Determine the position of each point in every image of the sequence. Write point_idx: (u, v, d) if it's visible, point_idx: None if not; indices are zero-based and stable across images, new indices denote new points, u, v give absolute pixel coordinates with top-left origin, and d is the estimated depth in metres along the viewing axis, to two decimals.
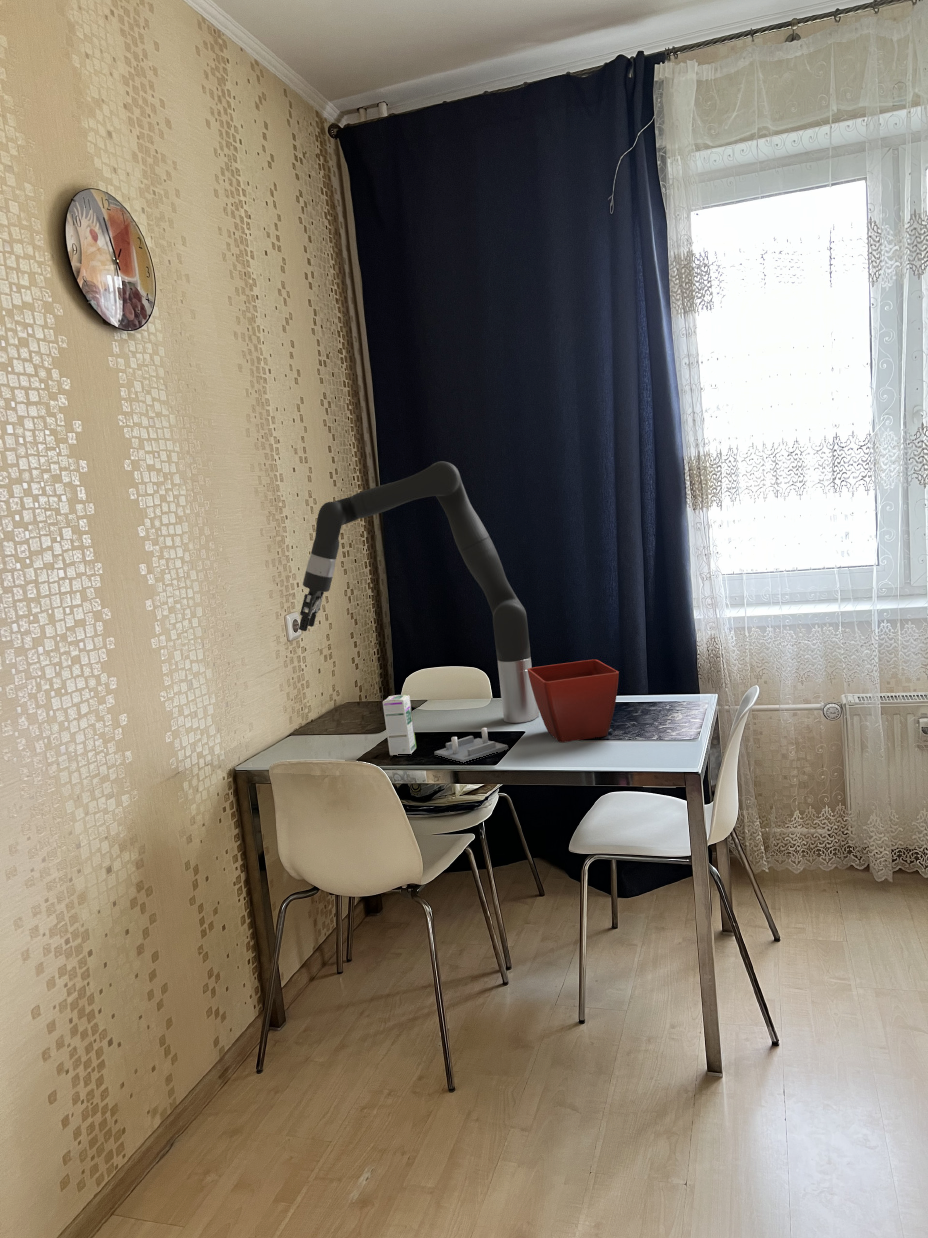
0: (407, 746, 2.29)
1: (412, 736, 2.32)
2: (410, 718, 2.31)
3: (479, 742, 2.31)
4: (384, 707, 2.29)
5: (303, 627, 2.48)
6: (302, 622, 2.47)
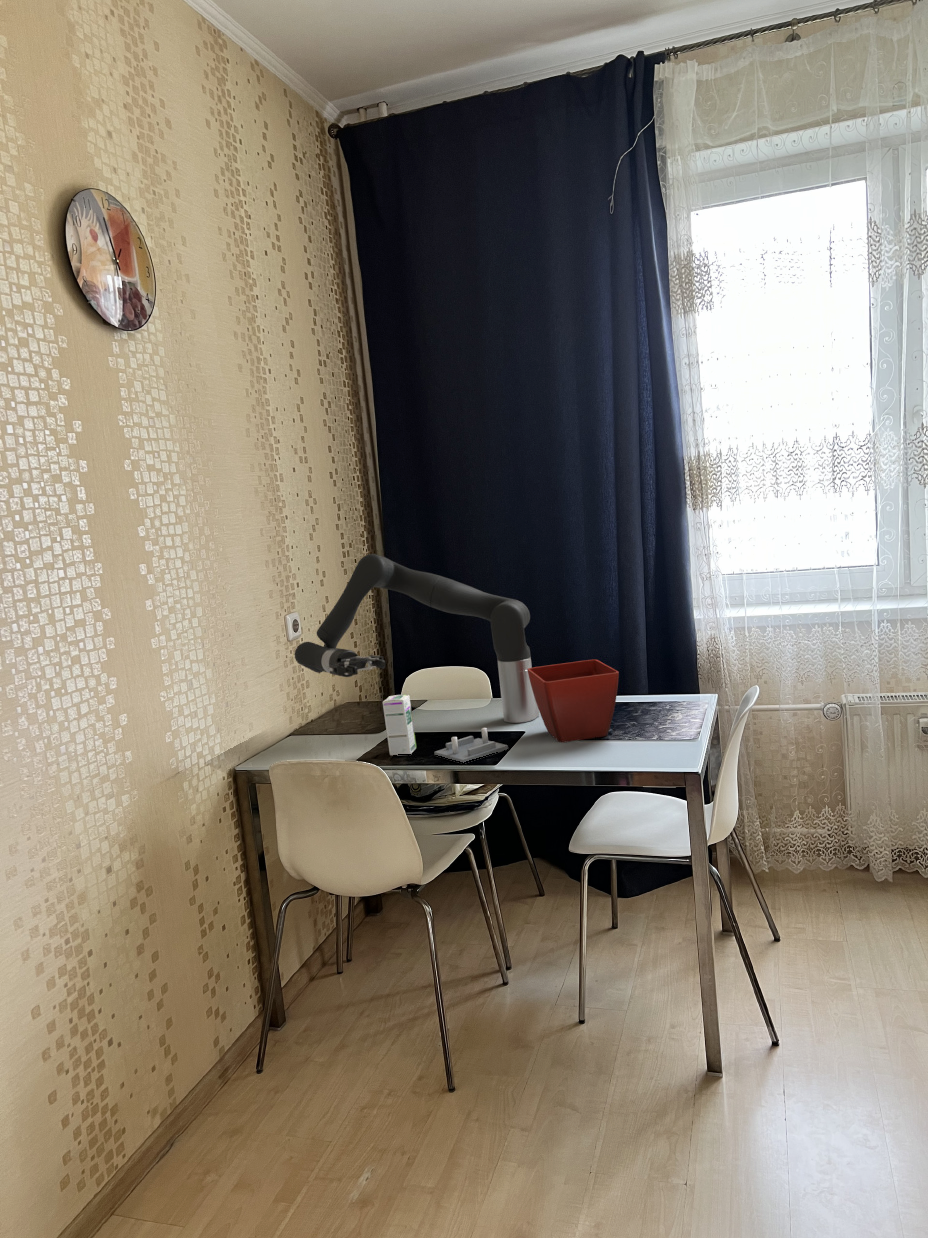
0: (407, 746, 2.29)
1: (412, 736, 2.32)
2: (410, 718, 2.31)
3: (479, 742, 2.31)
4: (384, 707, 2.29)
5: (351, 670, 2.37)
6: (348, 672, 2.38)
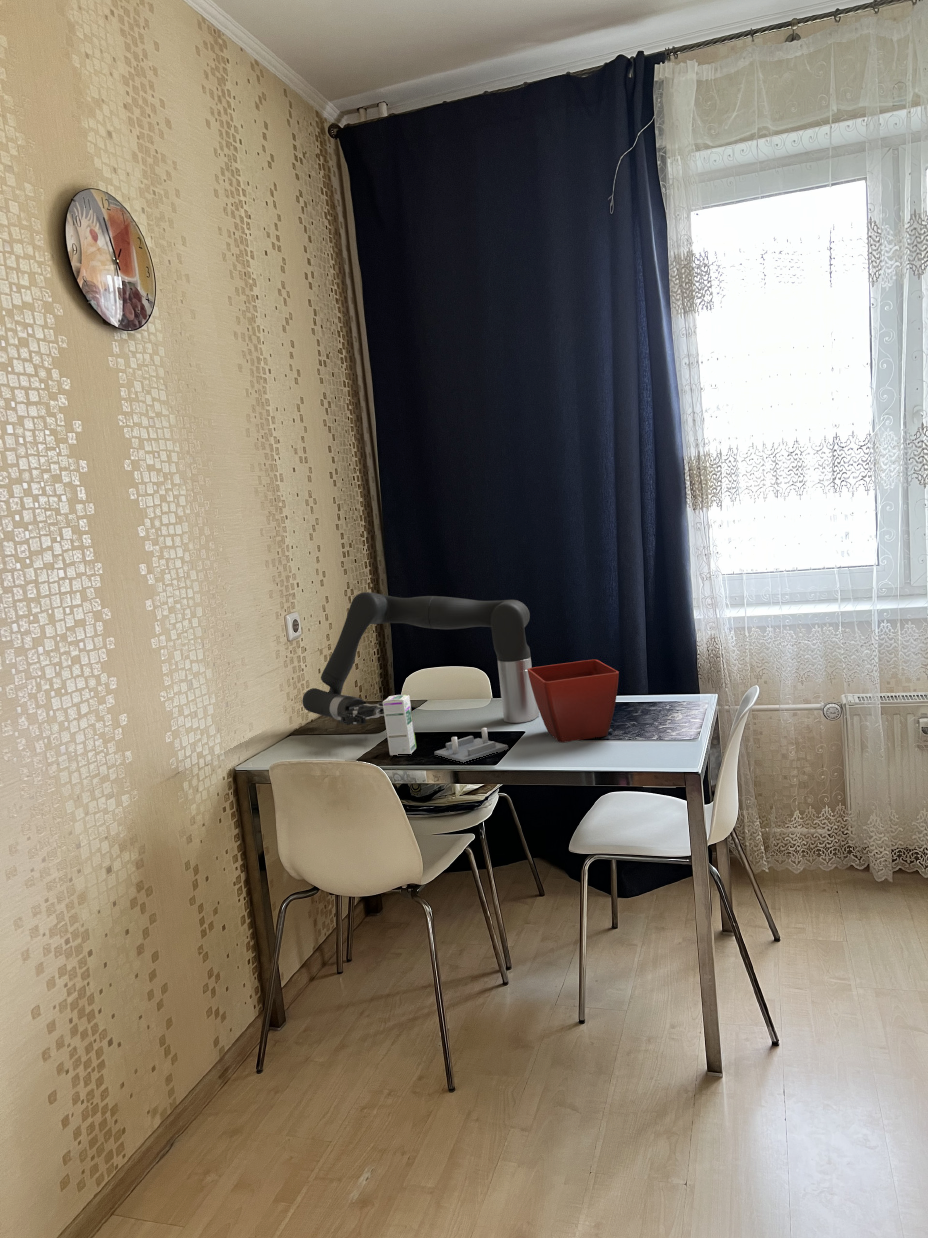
0: (407, 746, 2.29)
1: (412, 736, 2.32)
2: (410, 718, 2.31)
3: (479, 742, 2.31)
4: (384, 707, 2.29)
5: (359, 720, 2.38)
6: (357, 721, 2.39)
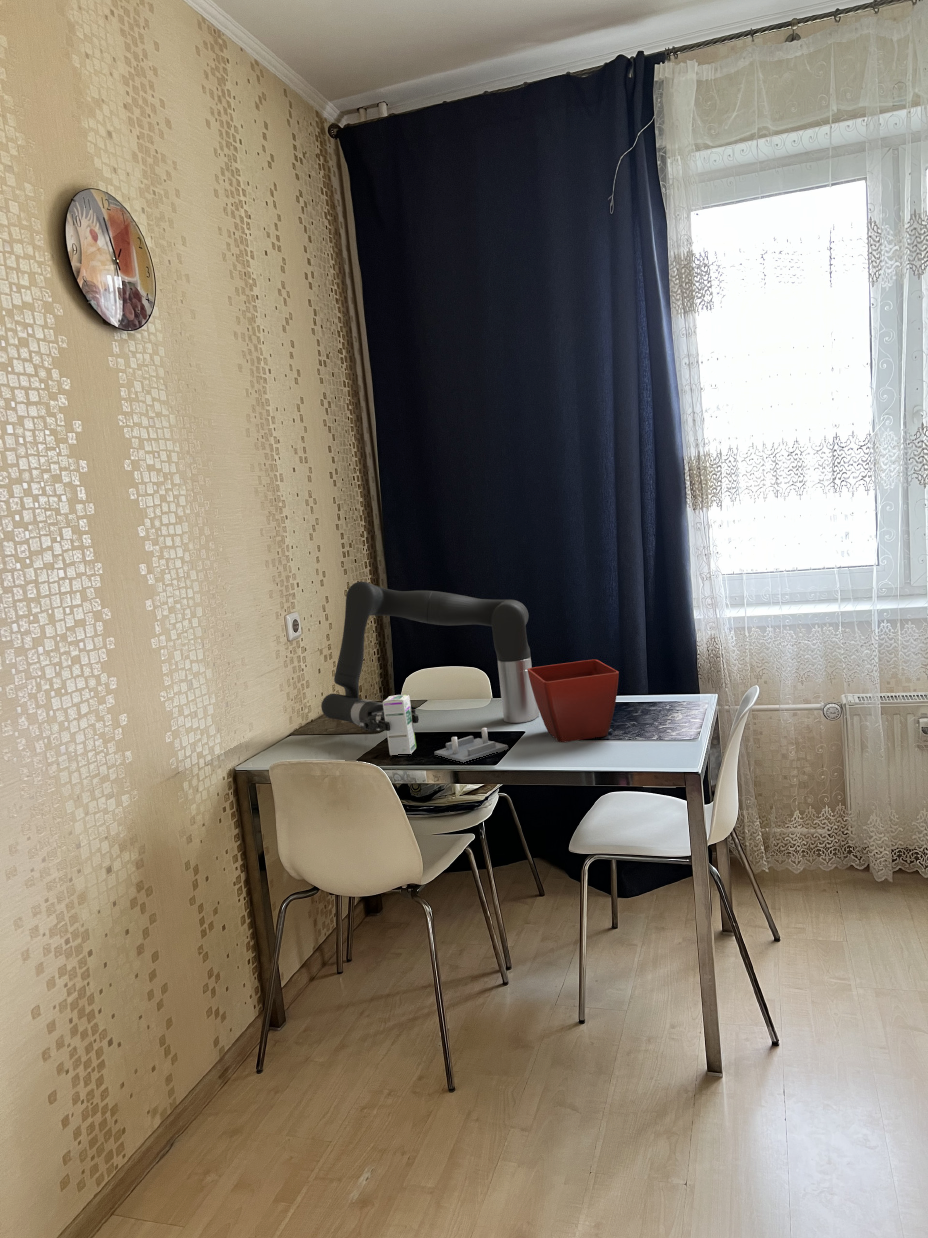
0: (407, 746, 2.29)
1: (412, 736, 2.32)
2: (410, 718, 2.31)
3: (479, 742, 2.31)
4: (384, 707, 2.29)
5: (383, 726, 2.28)
6: (380, 728, 2.29)
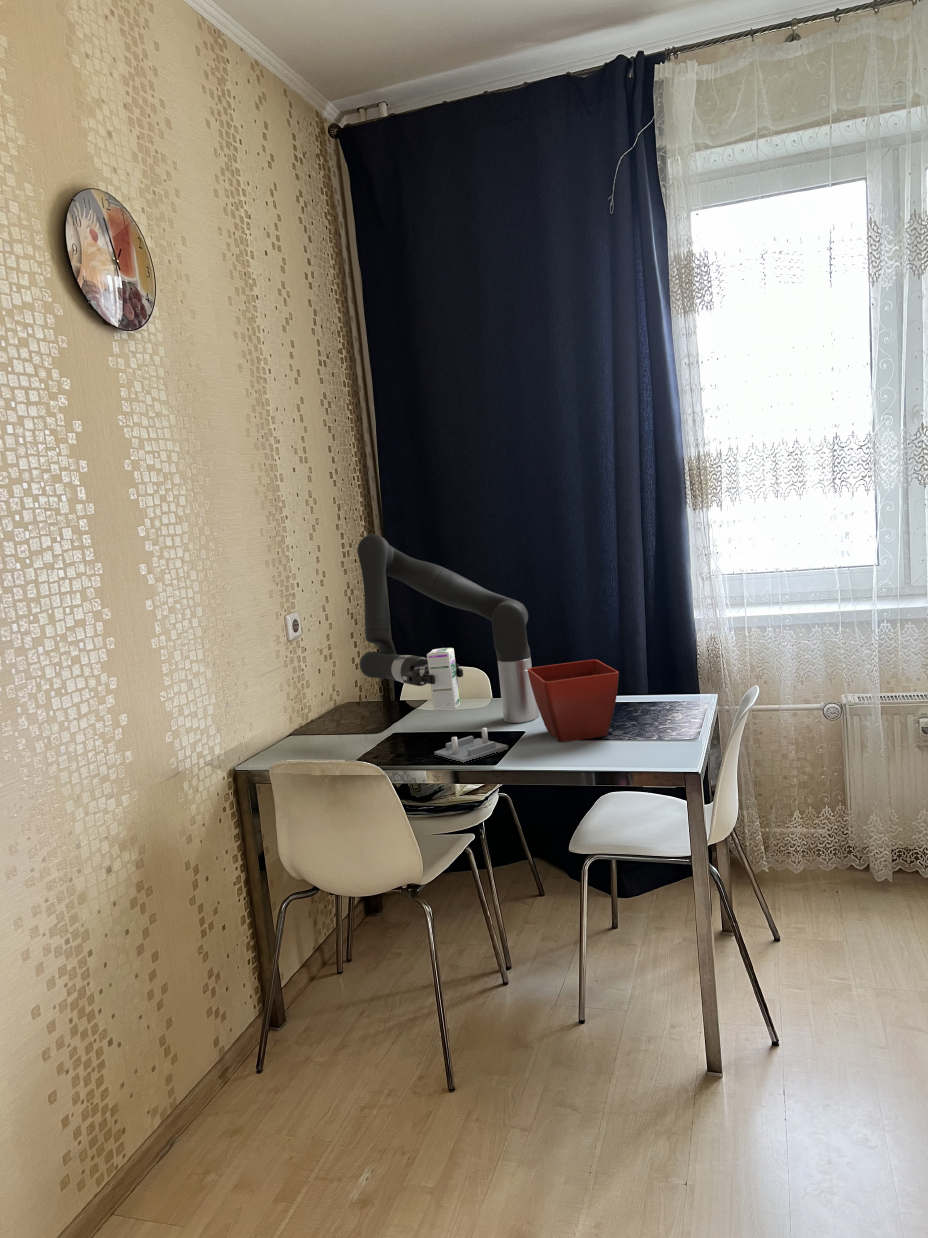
0: (452, 699, 2.23)
1: (456, 690, 2.25)
2: (454, 671, 2.25)
3: (479, 742, 2.31)
4: (428, 660, 2.22)
5: (428, 679, 2.21)
6: (425, 681, 2.23)
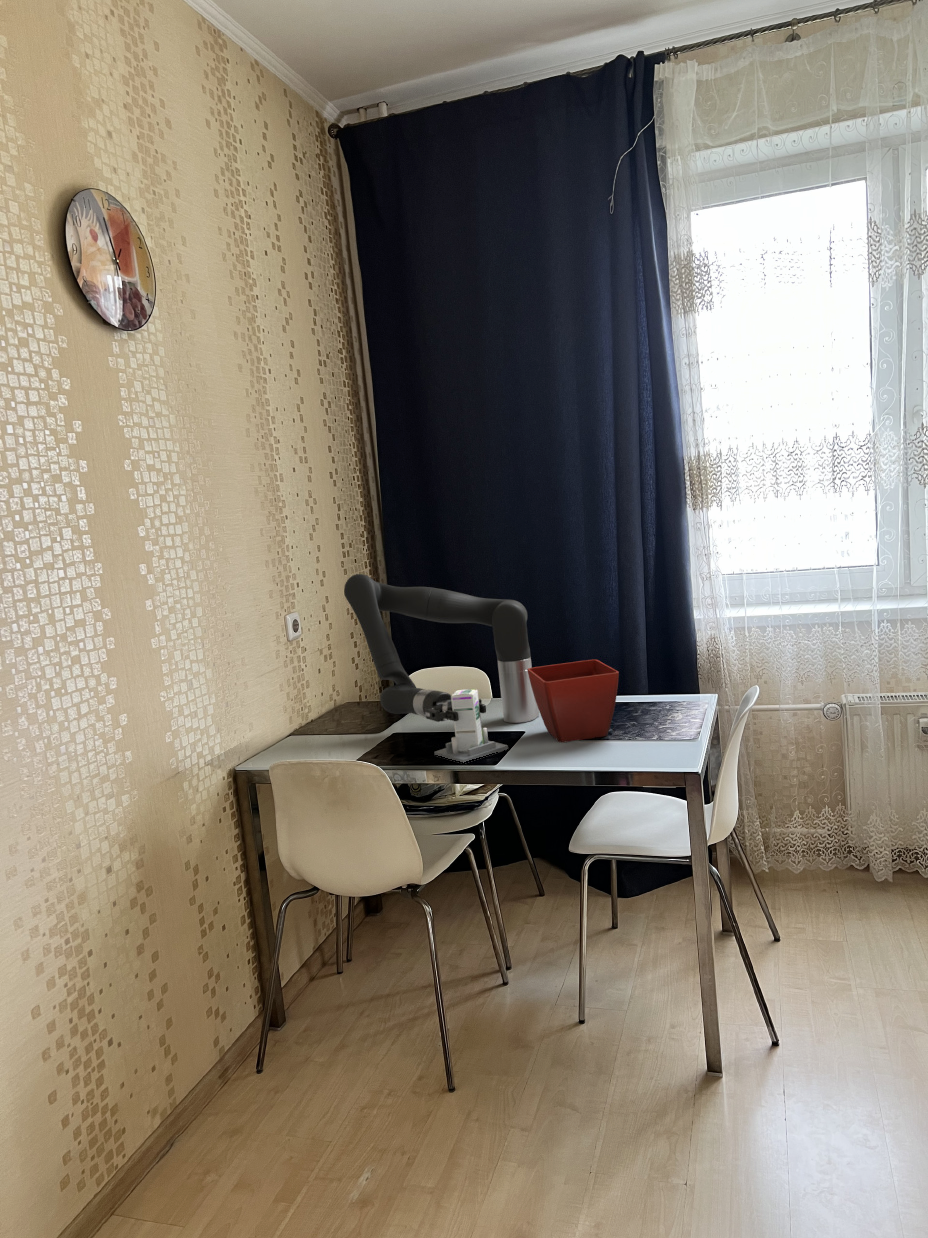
0: (475, 742, 2.22)
1: (480, 732, 2.24)
2: (478, 713, 2.24)
3: None
4: (452, 701, 2.22)
5: (451, 716, 2.21)
6: (448, 718, 2.22)
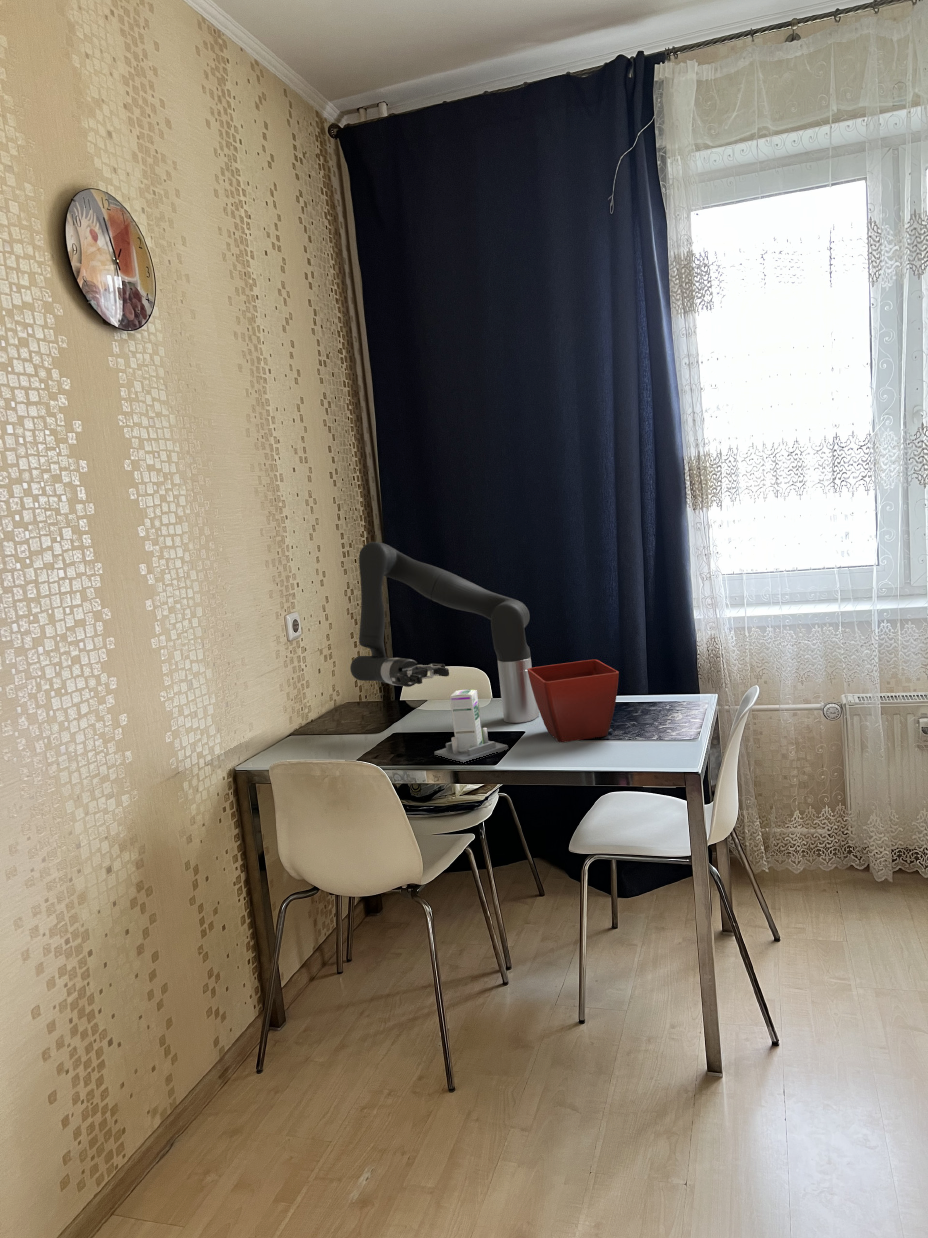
0: (475, 742, 2.22)
1: (479, 732, 2.24)
2: (477, 713, 2.24)
3: None
4: (451, 702, 2.22)
5: (415, 679, 2.32)
6: (412, 681, 2.33)
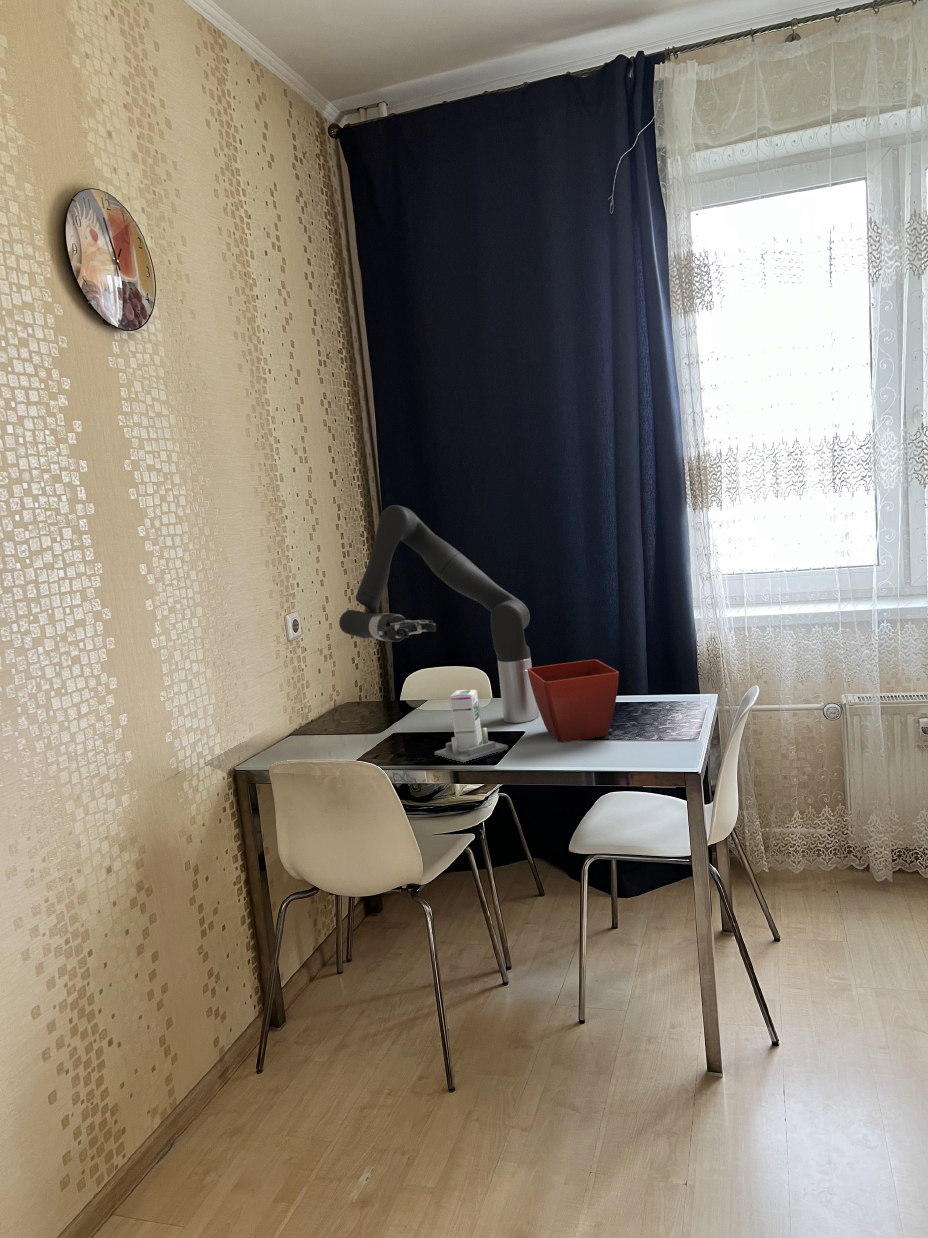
0: (475, 742, 2.22)
1: (479, 732, 2.24)
2: (477, 713, 2.24)
3: None
4: (451, 702, 2.22)
5: (402, 632, 2.32)
6: (399, 634, 2.34)
